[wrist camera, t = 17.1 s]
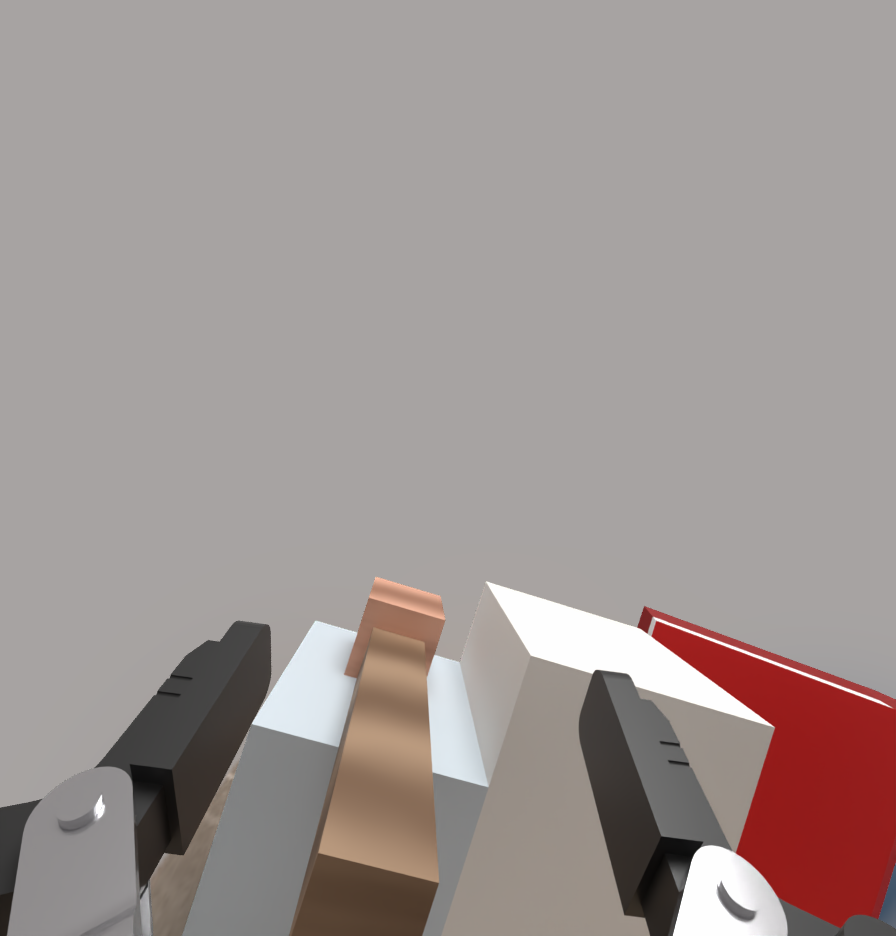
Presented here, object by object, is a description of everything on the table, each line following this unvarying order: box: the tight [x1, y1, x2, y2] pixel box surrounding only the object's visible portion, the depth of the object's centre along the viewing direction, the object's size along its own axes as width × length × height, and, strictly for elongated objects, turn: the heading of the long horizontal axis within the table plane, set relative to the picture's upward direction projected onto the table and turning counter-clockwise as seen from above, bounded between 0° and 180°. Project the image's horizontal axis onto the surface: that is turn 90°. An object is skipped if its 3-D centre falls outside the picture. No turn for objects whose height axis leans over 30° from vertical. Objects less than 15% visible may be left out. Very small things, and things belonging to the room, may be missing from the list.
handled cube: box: [289, 577, 445, 936], centre depth 26 cm, size 25×6×6 cm, turn 5°
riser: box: [182, 582, 775, 936], centre depth 33 cm, size 16×30×32 cm, turn 95°
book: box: [637, 607, 896, 928], centre depth 50 cm, size 27×8×32 cm, turn 75°
